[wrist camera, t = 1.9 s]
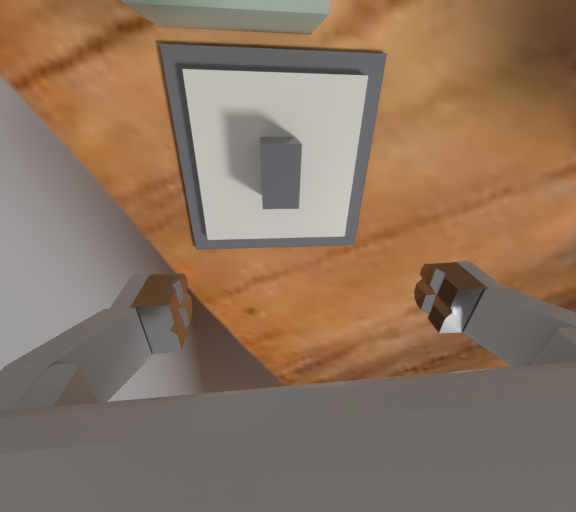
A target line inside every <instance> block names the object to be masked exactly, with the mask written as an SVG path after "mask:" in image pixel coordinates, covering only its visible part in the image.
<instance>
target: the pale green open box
mask: <svg viewBox="0 0 576 512" xmlns="http://www.w3.org/2000/svg"><path fill="white" fill-rule="evenodd" d="M122 2H123V3H124V4H125V5H127V6H128V7H130V8H131V9H133V10H134V11H136V12H137V13H139V14H140V15H142V16H143V17H145V18H146V19H147V20H149V21H150V22H152V23H153V24H155V25H156V26H158V27H172V28H192V29H213V30H233V31H253V32H273V33H294V34H312V32H313V31H314V30H315V29H316V28H317V27H318V26H319V25H320V24H321V23H322V22H323V20H324V19H325V18H326V17H327V16H328V15H329V11H330V0H122Z"/></svg>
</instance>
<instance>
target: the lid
mask: <svg viewBox="0 0 576 512" xmlns="http://www.w3.org/2000/svg"><path fill="white" fill-rule="evenodd" d="M182 70H183V77H184V83H185V90H186V97H187V104H188V110H189V117H190V124H191V131H192V137H193V144H194V151H195V158H196V164H197V171H198V178H199V185H200V191H201V198H202V205H203V212H204V218H205V225H206V232H207V239H208V240H227V239H266V238H305V237H344V236H345V231H346V224H347V217H348V210H349V203H350V197H351V190H352V183H353V176H354V170H355V163H356V156H357V149H358V143H359V136H360V129H361V122H362V115H363V109H364V102H365V95H366V88H367V82H368V75H339V74H311V73H282V72H254V71H225V70H197V69H182Z"/></svg>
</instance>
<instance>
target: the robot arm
mask: <svg viewBox="0 0 576 512" xmlns="http://www.w3.org/2000/svg"><path fill="white" fill-rule="evenodd" d="M420 275H421V277H422V279H421V280H420V281H419V282H418V283H417V284H416V287H415V291H414V295H415V301H416V303H417V305H418V307H419V308H420V309H421V310H422V311H424V312H426V313H428V320H429V321H430V322H431V323H432V325H433V326H434V327H435V329H436V330H437V331H438V332H439V333H454V332H463V334H465V335H466V336H468V337H469V338H471V339H472V340H474V341H475V342H477V343H478V344H480V345H481V346H483V347H484V348H486V349H487V350H489V351H490V352H492V353H493V354H495V355H496V356H498V357H499V358H501V359H502V360H504V361H505V362H507V363H508V364H510V365H511V366H513V367H504V368H492V369H480V370H469V371H457V372H446V373H434V374H422V375H411V376H399V377H388V378H376V379H365V380H353V381H342V382H330V383H319V384H307V385H296V386H284V387H274V388H262V389H251V390H238V391H227V392H216V393H204V394H193V395H181V396H169V397H158V398H147V399H136V400H123V401H112V402H107V401H108V400H109V399H110V398H111V397H112V396H113V395H114V394H115V393H116V392H117V391H118V390H119V389H120V388H121V387H122V386H123V385H124V384H125V383H126V382H127V381H128V380H129V378H131V377H132V376H133V375H134V374H135V373H136V372H137V371H138V369H139V368H140V367H141V366H142V365H143V364H144V363H145V362H146V361H147V360H148V359H149V358H150V357H151V356H152V354H156V353H157V354H158V353H167V352H178V351H181V350H182V348H183V344H184V341H185V337H186V330H185V327H186V326H187V325H188V324H189V323H190V319H191V314H192V302H191V297H190V295H189V294H188V293H187V292H186V289H187V286H188V283H187V278H186V276H185V274H143V275H134V276H132V277H131V278H130V279H129V281H128V282H127V284H126V285H125V287H124V288H123V290H122V291H121V292H120V294H119V295H118V297H117V299H116V300H115V301H114V303H113V304H112V306H111V307H110V309H103V310H102V311H100V312H98V313H96V314H95V315H93V316H91V317H90V318H88V319H86V320H84V321H82V322H81V323H79V324H77V325H75V326H74V327H72V328H70V329H69V330H67V331H65V332H63V333H62V334H60V335H58V336H56V337H55V338H53V339H51V340H50V341H48V342H46V343H44V344H43V345H41V346H39V347H37V348H36V349H34V350H32V351H30V352H29V353H27V354H25V355H23V356H22V357H20V358H18V359H17V360H15V361H13V362H11V363H10V364H8V365H6V366H5V367H4V368H3V369H2V370H1V371H0V512H576V313H574V312H572V311H569V310H566V309H564V308H561V307H558V306H556V305H553V304H551V303H548V302H545V301H543V300H540V299H537V298H535V297H532V296H529V295H527V294H524V293H521V292H519V291H516V290H514V289H511V288H504V287H503V286H501V285H500V284H499V283H497V282H496V281H495V280H494V279H492V278H491V277H490V276H488V275H487V274H486V273H484V272H483V271H482V270H480V269H479V268H478V267H477V266H475V265H474V264H473V263H471V262H468V261H461V262H451V263H434V264H425V265H424V266H423V267H422V269H421V272H420Z"/></svg>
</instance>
